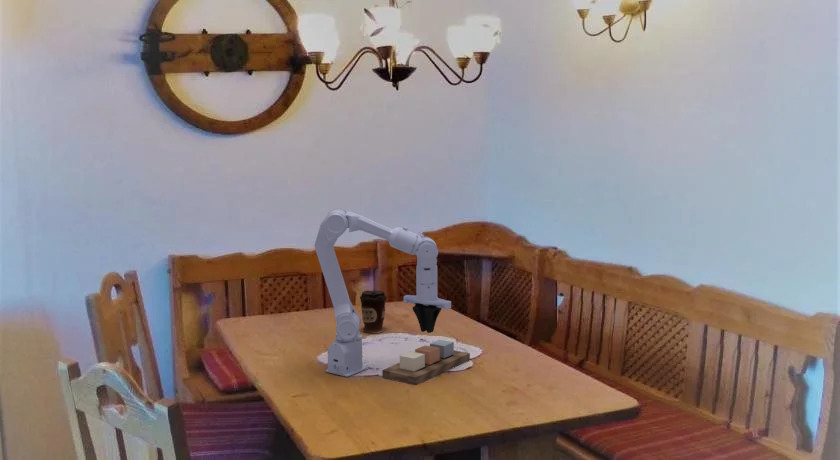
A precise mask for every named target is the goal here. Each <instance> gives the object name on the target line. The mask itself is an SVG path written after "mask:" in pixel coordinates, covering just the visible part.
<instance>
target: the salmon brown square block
mask: <svg viewBox="0 0 840 460" xmlns="http://www.w3.org/2000/svg"><path fill="white" fill-rule="evenodd" d="M414 352H417V353H422V354H425V364H428V365H430V364H432V363H435V362H437V361H439V360H440V348H437V347H432V346H430V345H426V344H424V345H422V346H420V347H417V348H415V349H414Z"/></svg>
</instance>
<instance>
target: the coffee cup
mask: <svg viewBox="0 0 840 460" xmlns="http://www.w3.org/2000/svg"><path fill="white" fill-rule="evenodd" d="M387 298H388V296H387V295H386V294H385V292H384V291H383V290H375V289H374V290H363V291H362V292H361V295H360V296H359V299H360V302H361V303H360V304H361V305H360V309H361V310H360V311H361V319H362V323H363V325H364V327H363V331H364V332H365V333H369V334H370V333H371V334H374V333H375V334H379V333H383V332H384V328H383V327H384V326H383V325H384V320H385V315H386V303H387Z"/></svg>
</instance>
